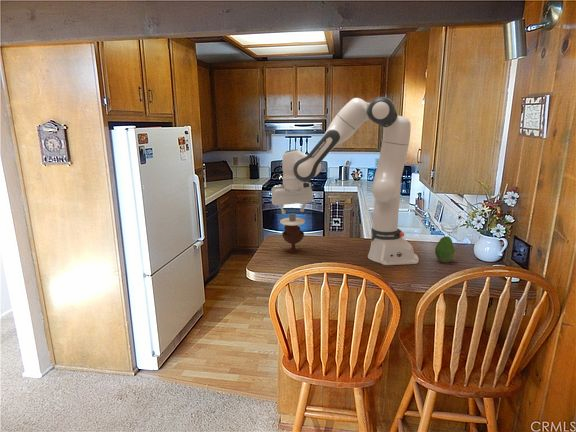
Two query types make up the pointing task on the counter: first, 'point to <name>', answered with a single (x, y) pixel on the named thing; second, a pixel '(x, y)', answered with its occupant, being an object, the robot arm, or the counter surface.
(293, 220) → the lid
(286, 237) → the ice cream bowl
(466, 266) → the counter surface
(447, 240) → the avocado
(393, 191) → the robot arm
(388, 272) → the counter surface
